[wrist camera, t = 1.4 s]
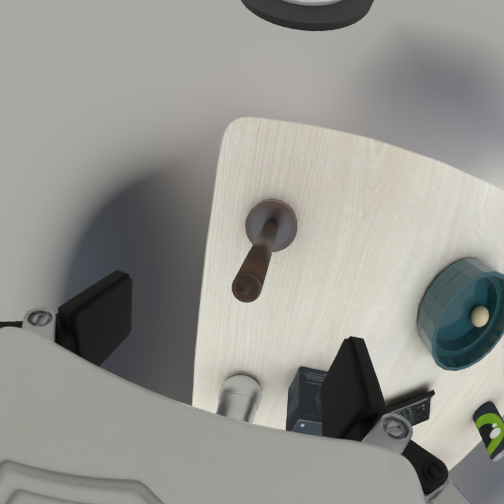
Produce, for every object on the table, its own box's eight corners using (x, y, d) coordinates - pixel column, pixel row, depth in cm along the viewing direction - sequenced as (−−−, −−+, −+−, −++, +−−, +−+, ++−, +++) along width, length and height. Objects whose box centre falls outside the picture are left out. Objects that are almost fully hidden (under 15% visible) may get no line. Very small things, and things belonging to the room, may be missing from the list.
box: (287, 389, 39) (283, 442, 29) (300, 365, 37) (298, 419, 27) (333, 398, 39) (337, 449, 29) (347, 374, 37) (356, 427, 27)
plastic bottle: (269, 376, 39) (248, 491, 20) (256, 402, 41) (233, 504, 22) (228, 364, 39) (189, 475, 20) (219, 390, 41) (183, 490, 22)
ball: (473, 300, 30) (483, 310, 27) (485, 304, 30) (495, 313, 27) (464, 319, 31) (473, 329, 28) (476, 321, 31) (485, 332, 28)
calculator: (385, 432, 40) (387, 443, 37) (380, 400, 38) (384, 412, 35) (427, 416, 38) (431, 426, 35) (429, 381, 35) (435, 392, 33)
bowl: (442, 244, 29) (465, 258, 24) (504, 270, 28) (526, 284, 22) (399, 341, 34) (412, 366, 28) (465, 351, 33) (480, 372, 27)
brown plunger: (254, 193, 31) (200, 228, 13) (302, 205, 31) (313, 257, 13) (244, 239, 33) (186, 322, 15) (289, 251, 33) (282, 349, 15)
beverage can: (488, 412, 36) (508, 453, 22) (469, 422, 38) (488, 466, 24) (495, 396, 35) (519, 439, 21) (476, 407, 36) (498, 453, 22)
